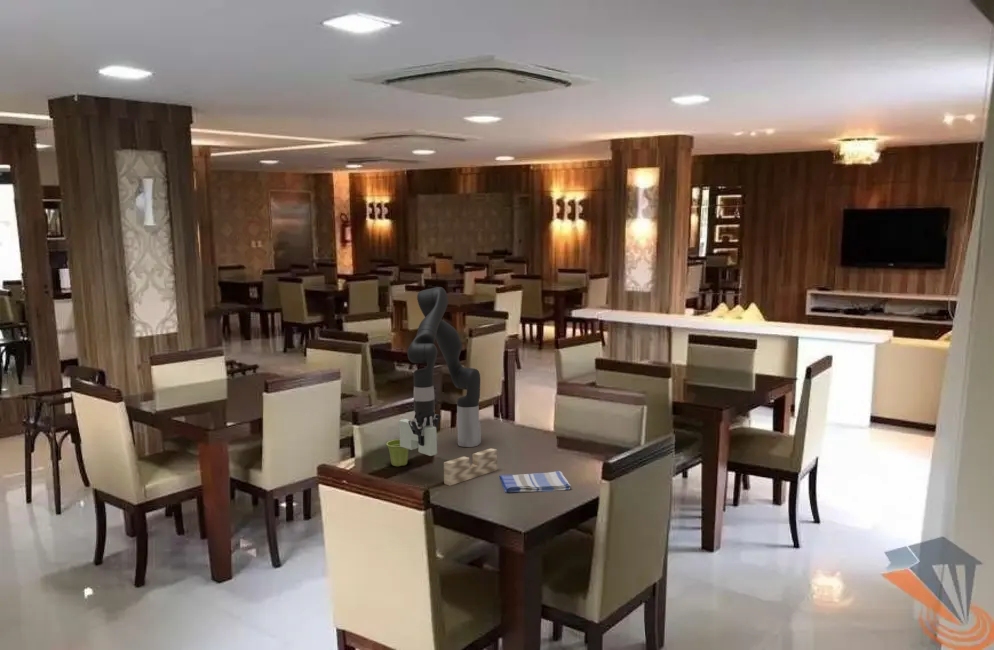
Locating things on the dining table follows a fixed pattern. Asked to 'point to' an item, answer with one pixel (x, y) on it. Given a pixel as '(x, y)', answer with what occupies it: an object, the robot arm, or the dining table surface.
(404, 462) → the plant pot
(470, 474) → the maple slotted board
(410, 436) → the sage slotted board
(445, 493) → the dining table surface
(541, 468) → the dining table surface
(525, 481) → the dish towel
